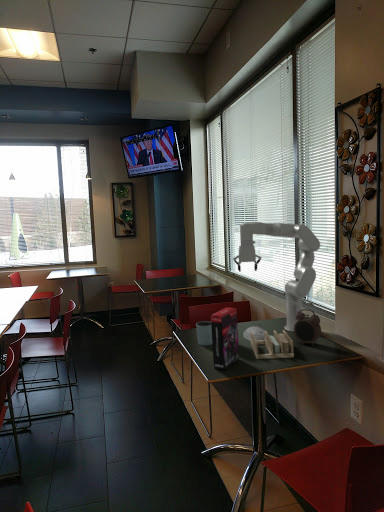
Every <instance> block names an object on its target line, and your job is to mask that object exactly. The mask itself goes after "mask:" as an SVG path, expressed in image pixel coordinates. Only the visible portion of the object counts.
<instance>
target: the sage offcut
mask: <svg viewBox="0 0 384 512" xmlns="http://www.w3.org/2000/svg"><path fill="white" fill-rule="evenodd" d="M268 335H269V334H268ZM269 337H270V338H271V340H272V342H273V354H279V353H280V347H279V344H278V342H277V341H276V340H275V339H274V335H269Z"/></svg>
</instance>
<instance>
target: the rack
mask: <svg viewBox="0 0 384 512" xmlns="http://www.w3.org/2000/svg"><path fill="white" fill-rule="evenodd" d="M278 334H279V333H278V332H277V331H276V330H275V329H274V330H273V337H274V339H275V340H276V341H277V342H278V344H279V347H280V353H279V354H274V353H273V342H272V340H271V338H270V337H269V333H268V332H267V330H265V340H260V341H256V339H255V337H254V335H253V332H252V331H251V341H250V346H251V348H252V351H253V353H254V355H255V358H256V359H259V360H260V359H261V360H262V359H280V358H281V359H283V358H284V359H285V358H288V359H289V358H290V359H291V358H294V357H295V353H294V341H293V340H292V338H291V337H290V335H289V334H288V333H287V332H286V331H285V329H282V334H283V336H284V337H285V338H286V340H287V341H288V343H289V353H283V341H282V340H281V338H280V337H279V335H278ZM259 345H265V347H266V349H267V351H268V353H259V349H258V348H259V347H258V346H259Z"/></svg>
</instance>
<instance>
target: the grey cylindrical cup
mask: <svg viewBox="0 0 384 512" xmlns="http://www.w3.org/2000/svg"><path fill="white" fill-rule="evenodd" d="M195 326H196V333H197V341H198V342H197V344H198V345H200V346H206V345H207V346H211V345H212V329H211V321H210V320H209V321H208V320H207V321H205V320H203V321H198V322H196V324H195Z"/></svg>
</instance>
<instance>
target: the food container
mask: <svg viewBox="0 0 384 512" xmlns="http://www.w3.org/2000/svg"><path fill="white" fill-rule="evenodd" d="M251 331H252V332H253V335H254V337H255V339H256V341H260V340H265V331H266V330H265V329H263V328H261V327H260V326H254V325H252V326H249V327H248V328H246V329H245V330H244V332H243V334H242V336H243V338H244V339H245V340H247V341H249V342H251Z"/></svg>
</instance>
